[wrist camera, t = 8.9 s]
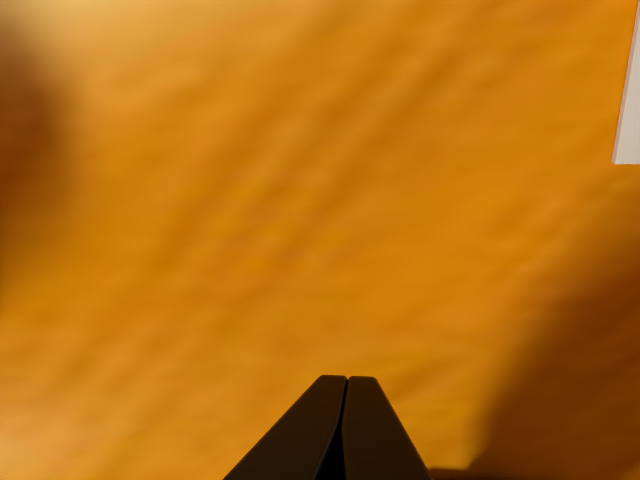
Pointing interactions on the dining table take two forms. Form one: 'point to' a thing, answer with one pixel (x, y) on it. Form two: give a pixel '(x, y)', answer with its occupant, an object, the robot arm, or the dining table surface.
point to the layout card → (630, 106)
